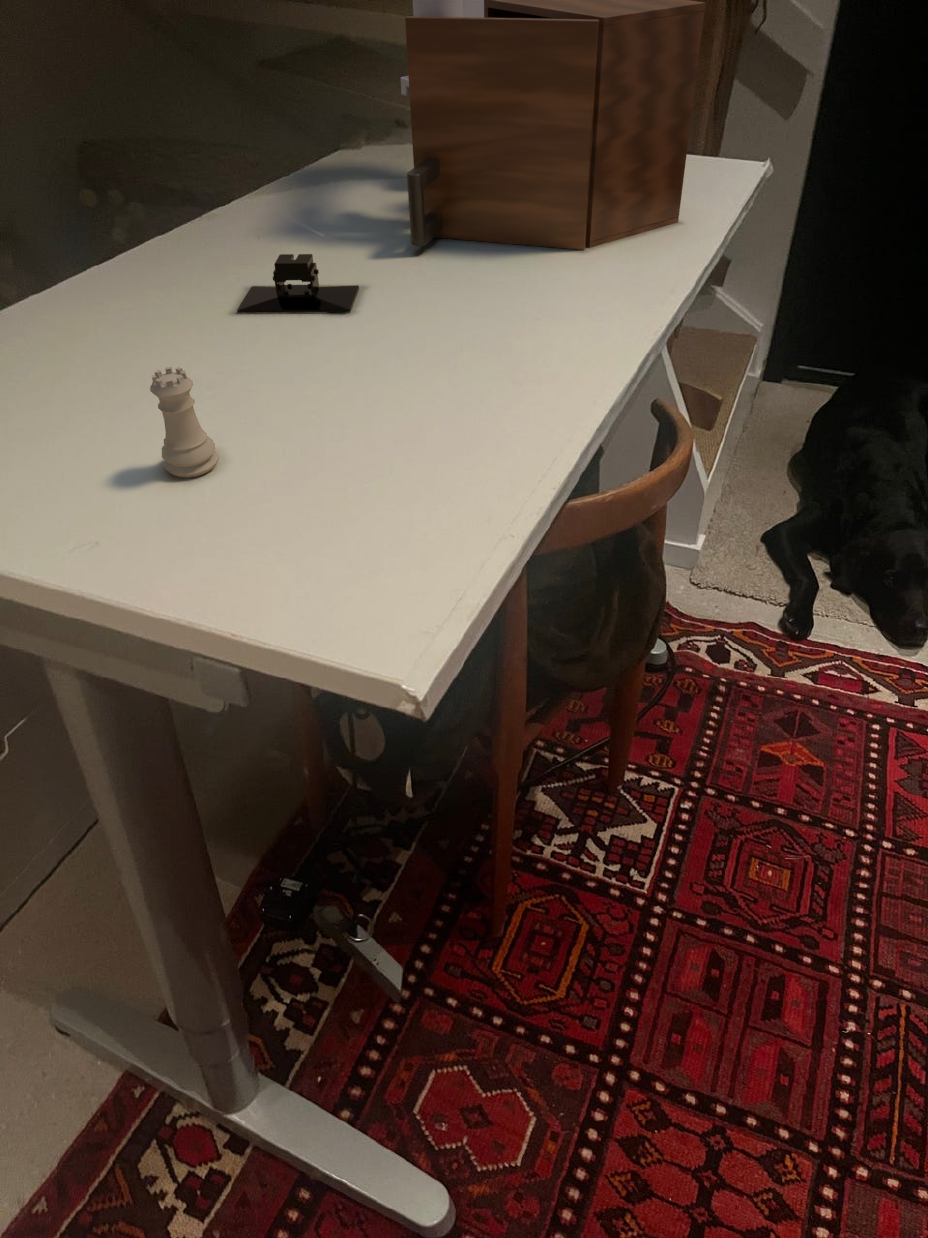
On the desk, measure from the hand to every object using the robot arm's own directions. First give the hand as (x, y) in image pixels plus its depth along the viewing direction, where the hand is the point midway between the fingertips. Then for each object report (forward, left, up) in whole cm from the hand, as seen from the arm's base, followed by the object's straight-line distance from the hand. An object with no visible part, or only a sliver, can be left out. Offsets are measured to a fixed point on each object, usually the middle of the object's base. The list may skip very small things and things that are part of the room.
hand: (444, 167), depth 113 cm
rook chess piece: (+37, -50, -7) cm, 62 cm away
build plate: (+11, -27, -7) cm, 30 cm away
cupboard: (+8, +16, -7) cm, 19 cm away
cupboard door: (+12, -1, -7) cm, 14 cm away
